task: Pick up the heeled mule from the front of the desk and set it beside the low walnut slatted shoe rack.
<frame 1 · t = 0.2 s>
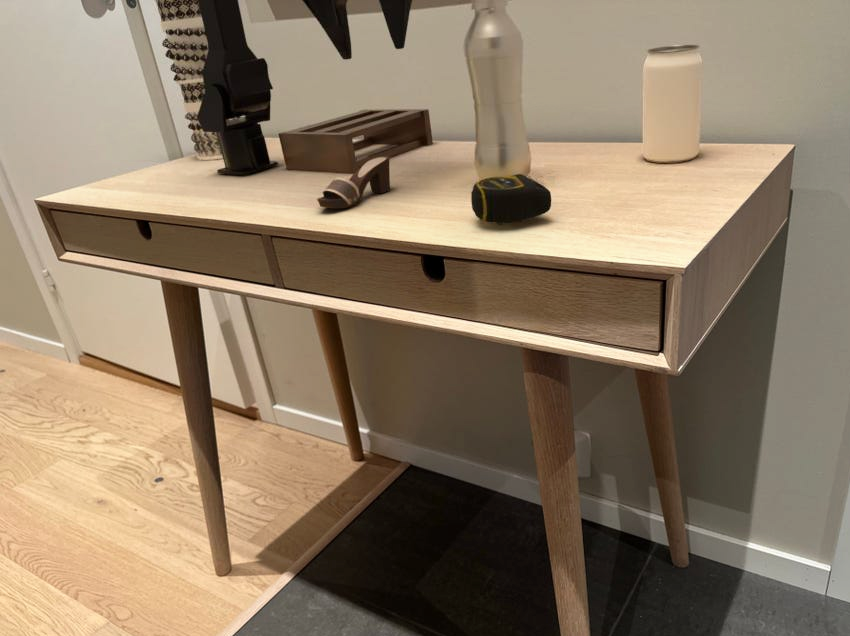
hand: (374, 53, 81), 15 cm above the table, tool pointing down, fingers open, 9 cm apart
can: (670, 158, 84), on the table
plastic bottle: (505, 185, 81), on the table
tape measure: (514, 219, 69), on the table
heeled mule: (356, 201, 81), on the table
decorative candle: (224, 155, 118), on the table
shoe rack: (361, 156, 104), on the table
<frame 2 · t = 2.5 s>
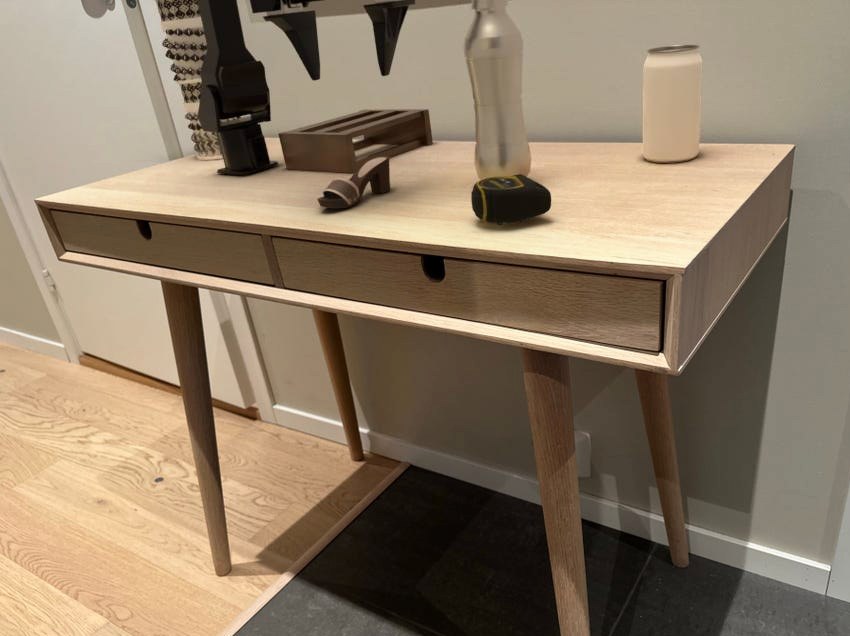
hand: (350, 77, 78), 13 cm above the table, tool pointing down, fingers open, 9 cm apart
nothing on the table moved.
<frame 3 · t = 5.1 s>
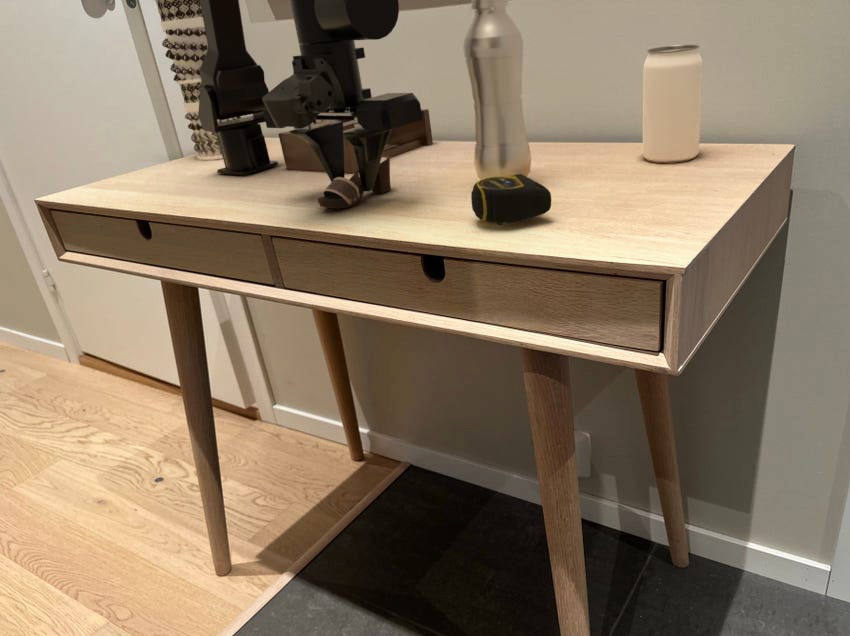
hand: (353, 189, 81), 1 cm above the table, tool pointing down, fingers closed on heeled mule, 4 cm apart
heeled mule: (357, 201, 81), on the table, touching gripper
everything else where it was.
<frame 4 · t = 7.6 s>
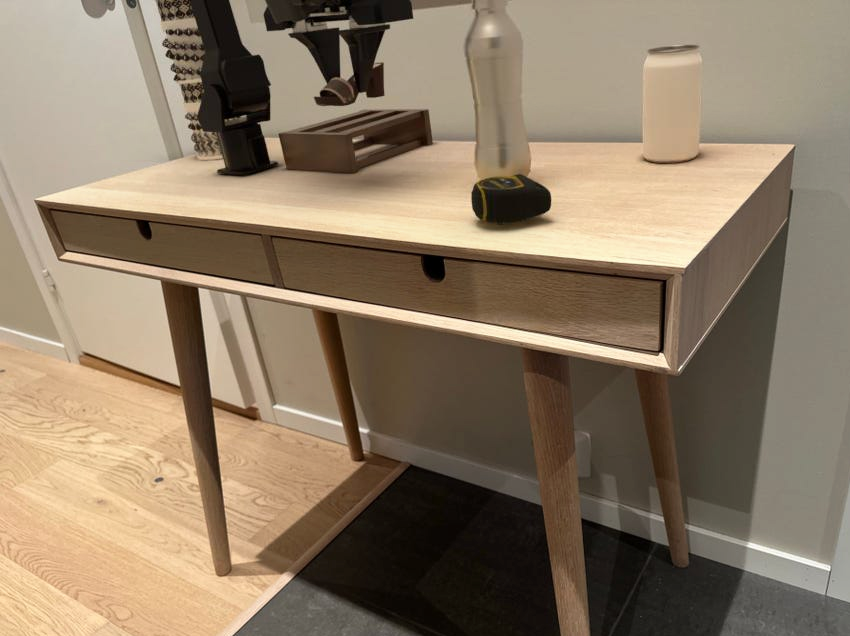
hand: (348, 92, 85), 11 cm above the table, tool pointing down, fingers closed on heeled mule, 4 cm apart
heeled mule: (351, 104, 85), point 9 cm above the table, touching gripper
everything else where it was.
when the fingers open (6 cm above the table, at t = 10.5 s): heeled mule stays where it is, resting on shoe rack.
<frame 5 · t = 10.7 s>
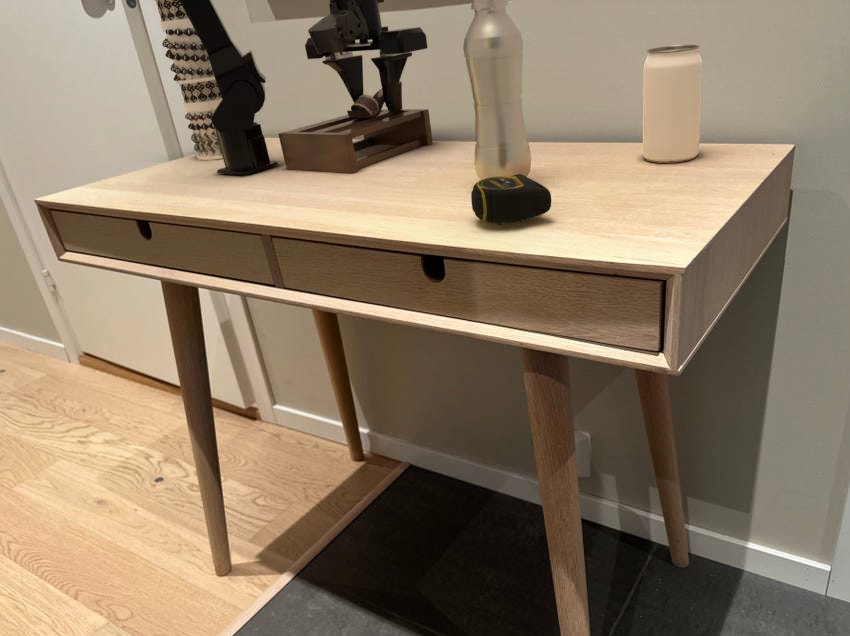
hand: (374, 107, 104), 6 cm above the table, tool pointing down, fingers open, 6 cm apart
heeled mule: (376, 116, 105), point 5 cm above the table, touching shoe rack
everything else where it was.
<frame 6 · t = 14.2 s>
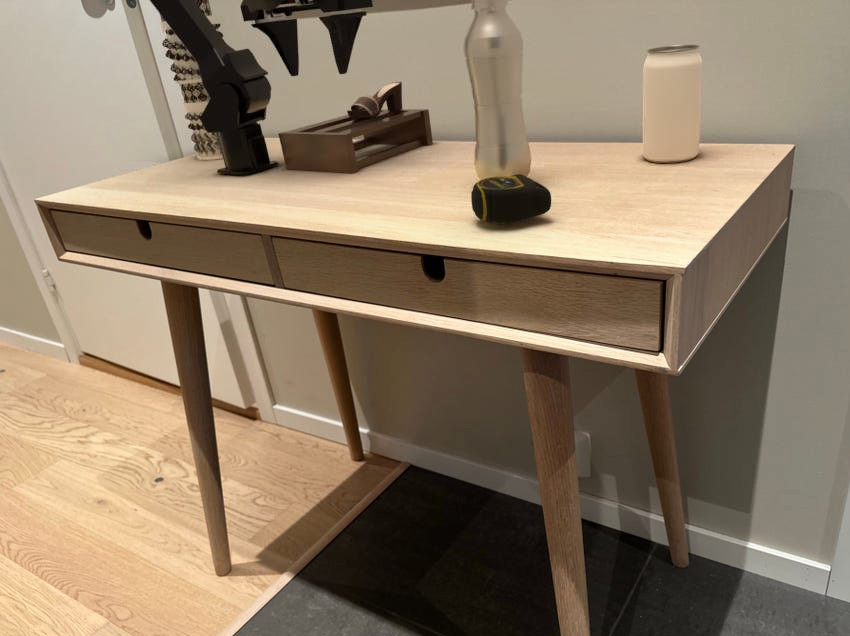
hand: (318, 74, 94), 12 cm above the table, tool pointing down, fingers open, 9 cm apart
nothing on the table moved.
at the end: heeled mule inside the target area on the shoe rack (0.3 cm from its centre), point 4.8 cm above the shoe rack's base; the gripper is holding nothing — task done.
